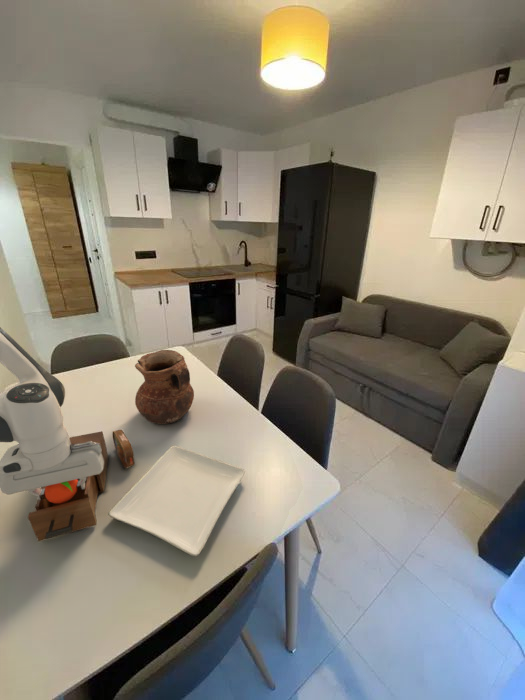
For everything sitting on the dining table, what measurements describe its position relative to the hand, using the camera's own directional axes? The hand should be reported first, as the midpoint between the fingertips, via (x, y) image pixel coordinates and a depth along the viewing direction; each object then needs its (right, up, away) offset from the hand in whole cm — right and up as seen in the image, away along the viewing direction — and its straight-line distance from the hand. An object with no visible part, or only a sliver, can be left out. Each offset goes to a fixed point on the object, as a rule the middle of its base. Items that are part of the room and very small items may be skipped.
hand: (62, 492), depth 72 cm
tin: (+4, 0, +24) cm, 24 cm away
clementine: (0, -2, +1) cm, 3 cm away
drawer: (0, -8, +4) cm, 9 cm away
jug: (+11, +9, +46) cm, 48 cm away
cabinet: (-5, -4, +16) cm, 17 cm away
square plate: (+27, -7, +11) cm, 30 cm away
